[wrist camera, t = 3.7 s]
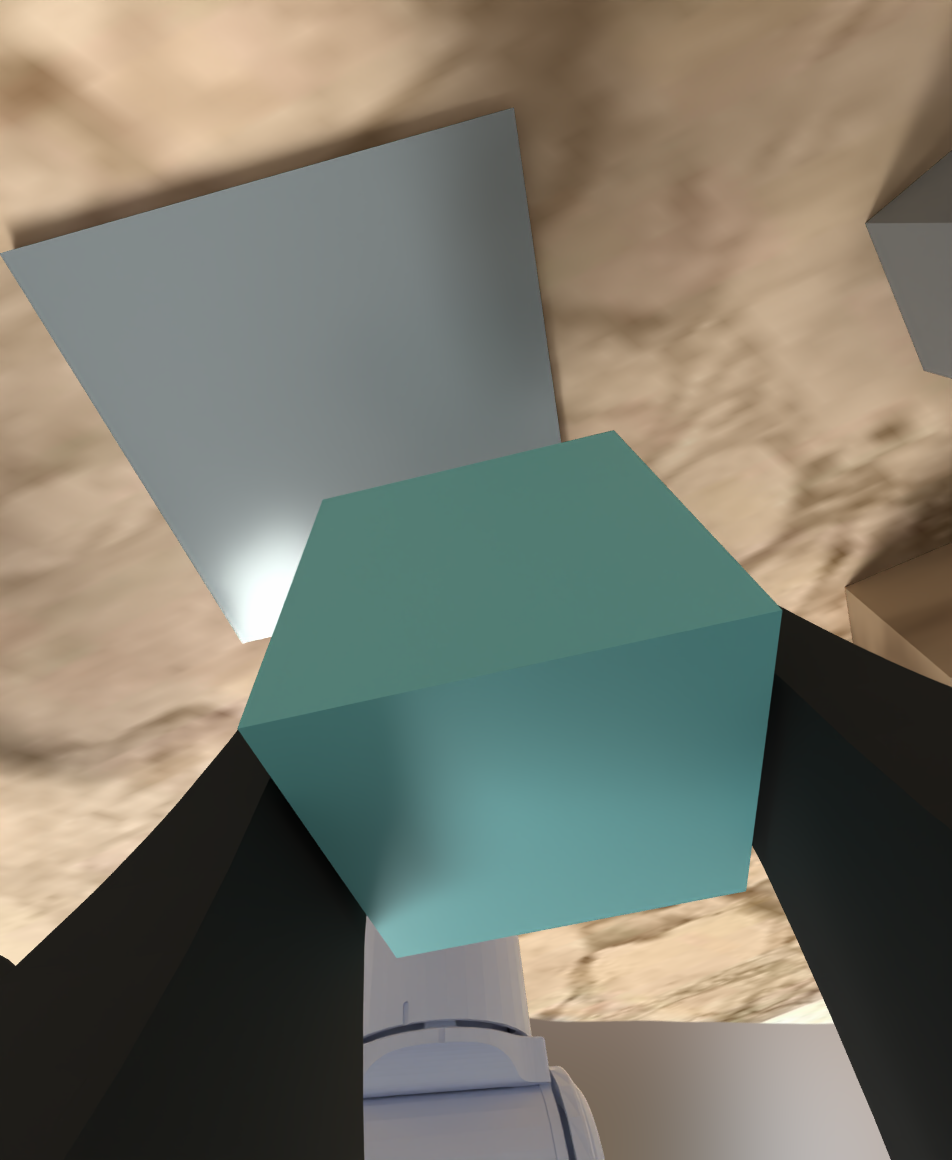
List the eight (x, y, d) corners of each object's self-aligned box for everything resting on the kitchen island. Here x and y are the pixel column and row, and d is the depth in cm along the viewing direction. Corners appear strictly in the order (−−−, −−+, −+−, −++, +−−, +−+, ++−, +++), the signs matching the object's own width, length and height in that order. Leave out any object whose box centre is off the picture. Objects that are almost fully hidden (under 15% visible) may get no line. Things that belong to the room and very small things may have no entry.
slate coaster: (574, 556, 19) (578, 564, 18) (245, 634, 19) (242, 643, 19) (510, 111, 12) (514, 107, 12) (13, 252, 13) (-1, 253, 12)
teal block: (630, 653, 12) (746, 890, 7) (406, 701, 12) (396, 957, 8) (613, 430, 9) (783, 610, 5) (322, 499, 9) (236, 729, 5)
